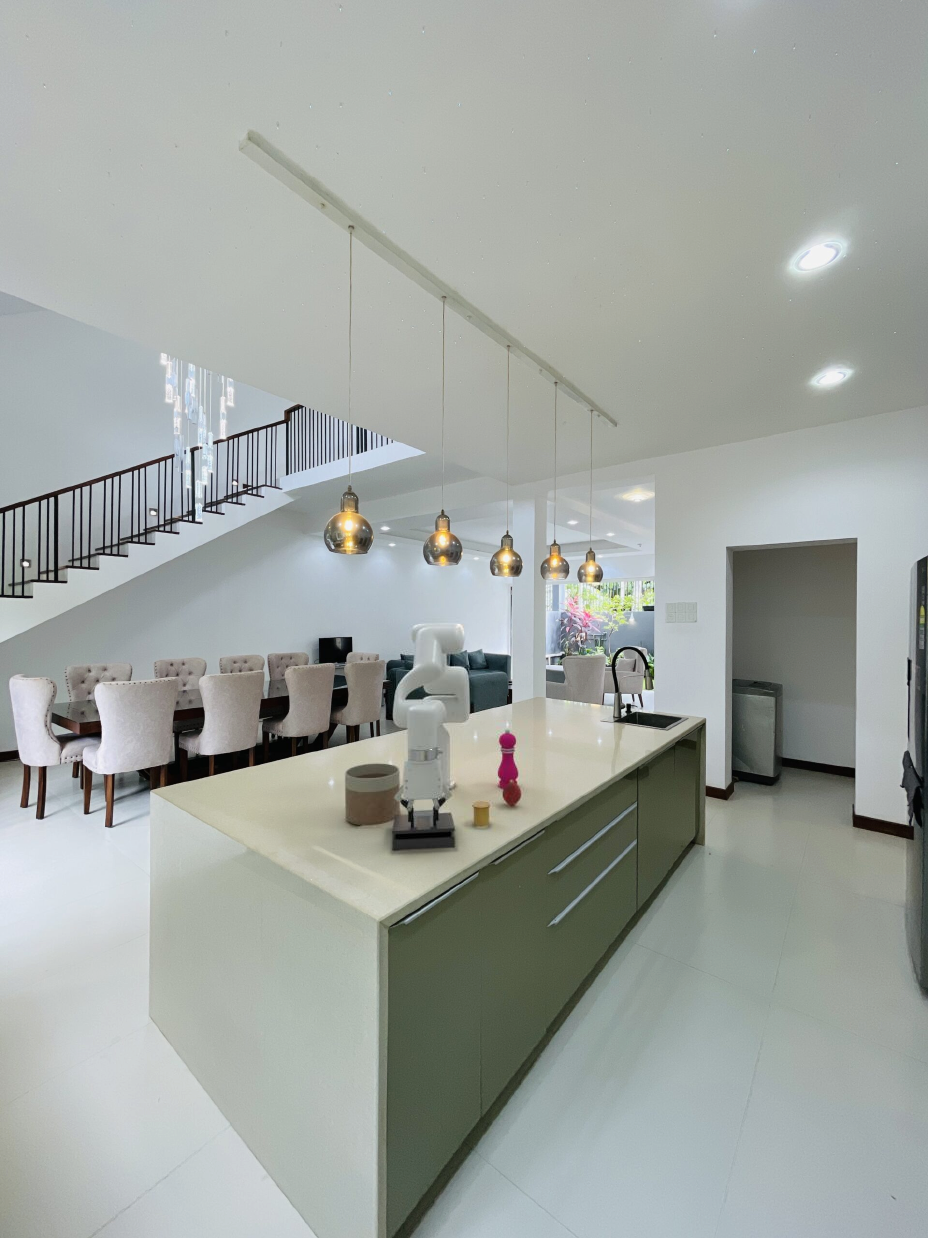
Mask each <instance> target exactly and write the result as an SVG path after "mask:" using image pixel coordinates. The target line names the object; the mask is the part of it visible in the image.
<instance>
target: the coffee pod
mask: <svg viewBox="0 0 928 1238" xmlns="http://www.w3.org/2000/svg"><path fill="white" fill-rule="evenodd" d="M471 806H472V808H473V825H474V826H477V827H486V826H489V825H490V808H491V804H490V802H488V801H475V802H473V803H472V805H471Z"/></svg>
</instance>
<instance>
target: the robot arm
mask: <svg viewBox="0 0 928 1238" xmlns="http://www.w3.org/2000/svg"><path fill="white" fill-rule="evenodd" d="M410 632H411V633H410V635H411V640H412V642H413V643H414V651H413V653H414V654H413V666H412V669H411V670H409V671H408V672H407V673H406V674H405V675H404V676H403V677H402V678H401V680H400V681H399V683H398V684H397V687H396V689H395V692H394V697H393V698H394V700H393V707H392V719H393V723H394V724H395V725H396V727H398V728H400V729H407V731H406V732H407V757H405V759H404V764H403V776H402V785H400V789H399V790H398V791H397V792H396V794H395V795H394V798H395V799H396V800H397V801H398V802H400V805H402V806H403V807H404V808H405V809H406V811H407V815H408V822H411V827H413V826H414V816H413V811H415V808H414V806H413V805H414V802H415V801H416V800H432V803H433V806H432V810H433V825H434V826H436V821H439V813H440V811H439V810H440V808H441V807H442V806H443V805H444V804H445V803H446V802H447V801H448V800H449V799H450V798H451V797H452V796H453V794H452V791H451V790H452V789H453V788H454V787H455V786H456V782H455V780H454V779H452V778H451V736H450V734H449V731H448V729H447V728H446V727H445V726H444V725H443V724H462V723H466V722H468V720H469V719H470V714H471V713H470V712H471V703H470V700H471V699H470V677H469V673H468V671H467V668H465V667H463V666H449V665H448V663H447V661H448V659H447V657H448V655H459V654H461V653H462V651H463V650H464V645H465V640H466V633H465V629H464V626H463V625H462V624H461V623H453V622H451V623H450V622H449V623H447V622H446V623H435V622H434V623H431V622H430V623H418V624H414V626H412V627H411V631H410ZM422 686H423V690H424V691H425V693H427V694H430V695H428V696H425V697H423V698H422V699H406V698H407V697H408V695H409V694H410V693H412V692H413V691H415V690H416V689H418V688H421V687H422ZM450 789H451V790H450ZM443 793H444V794H443ZM402 795H403V796H402Z"/></svg>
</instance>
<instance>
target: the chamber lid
mask: <svg viewBox="0 0 928 1238" xmlns="http://www.w3.org/2000/svg"><path fill="white" fill-rule="evenodd" d="M413 816H414V826H413V827H411V822H408V814H399V815H395V819H394V820H393V824H392V829H391V834H392V835H393V834H409V833H431V832H452V831H454V832H456V828H455V823H454V819H453V815H452V812H439V821H436V826H434V825H433V809H424V810H423V809H422V810H414V811H413Z"/></svg>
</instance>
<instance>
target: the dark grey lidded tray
mask: <svg viewBox="0 0 928 1238" xmlns="http://www.w3.org/2000/svg"><path fill="white" fill-rule="evenodd" d="M391 841H392V842H391V843H392V845H391V848H392V851H407V850H410V851H411V850H428V849H449V848H456V836H455V831H452V832H431V833H409V834H392V840H391Z"/></svg>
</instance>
